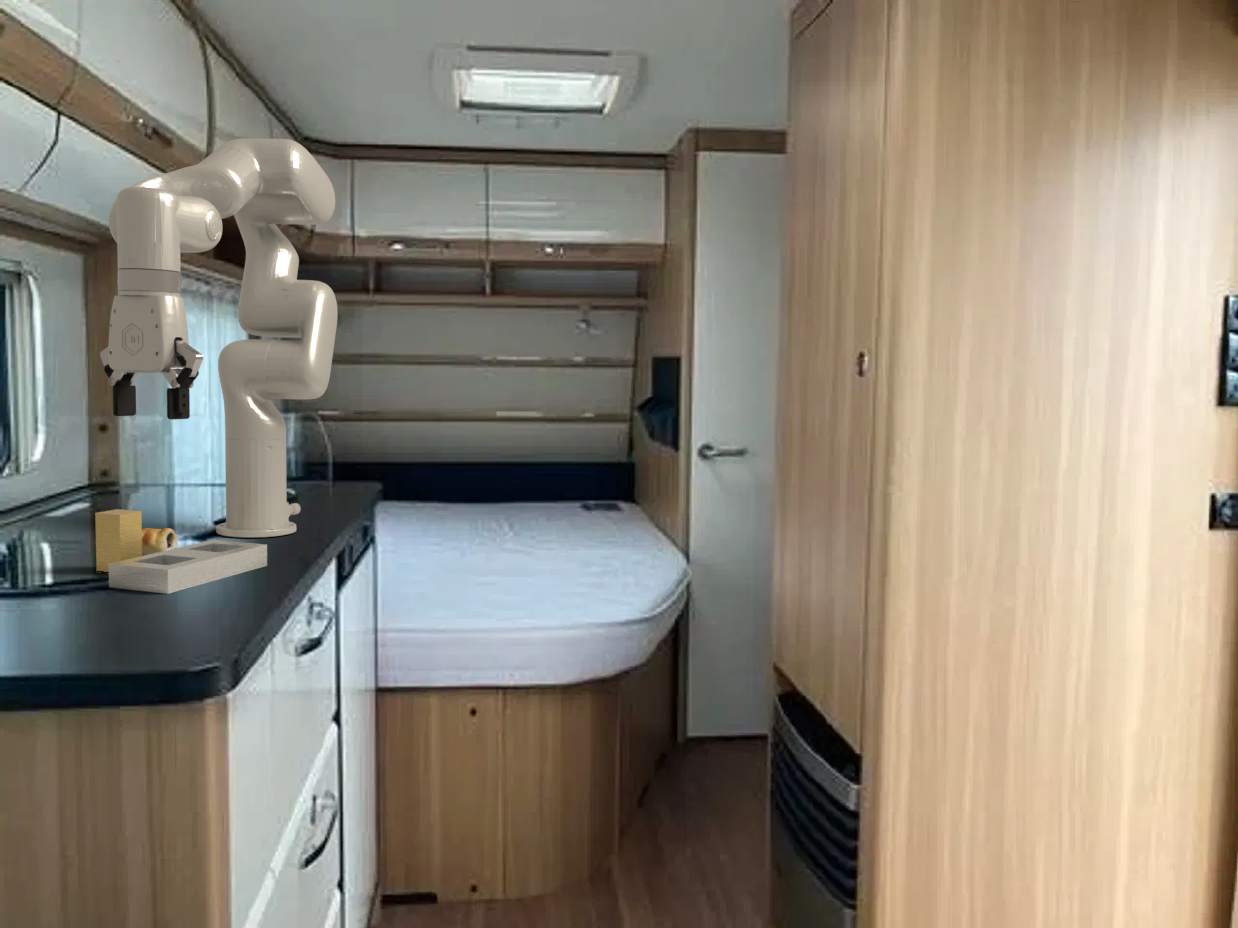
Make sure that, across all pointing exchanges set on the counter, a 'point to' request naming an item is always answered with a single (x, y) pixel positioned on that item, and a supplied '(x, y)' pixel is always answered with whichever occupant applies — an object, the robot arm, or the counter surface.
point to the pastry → (158, 540)
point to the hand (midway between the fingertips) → (151, 417)
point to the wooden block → (117, 537)
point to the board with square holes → (187, 566)
